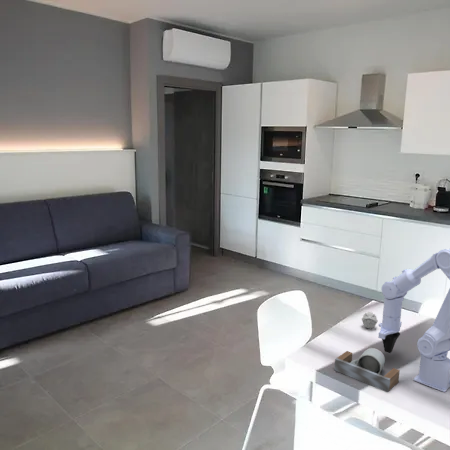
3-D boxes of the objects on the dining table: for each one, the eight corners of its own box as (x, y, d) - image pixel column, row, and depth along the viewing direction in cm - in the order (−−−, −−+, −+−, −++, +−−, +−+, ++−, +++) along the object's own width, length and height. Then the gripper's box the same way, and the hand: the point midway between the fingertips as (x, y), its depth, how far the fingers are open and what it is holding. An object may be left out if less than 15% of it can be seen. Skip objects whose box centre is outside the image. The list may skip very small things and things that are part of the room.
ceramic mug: (385, 369, 146) (386, 348, 144) (380, 381, 139) (382, 358, 137) (352, 361, 151) (354, 340, 149) (346, 372, 144) (347, 350, 142)
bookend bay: (398, 382, 138) (399, 370, 137) (387, 392, 132) (389, 380, 132) (346, 361, 150) (347, 350, 149) (334, 370, 144) (335, 358, 144)
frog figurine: (360, 330, 176) (361, 313, 174) (361, 323, 182) (362, 307, 181) (376, 332, 174) (378, 316, 172) (377, 326, 180) (378, 309, 179)
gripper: (389, 306, 158) (385, 341, 161) (371, 317, 148) (367, 354, 150) (408, 311, 153) (404, 347, 156) (391, 323, 143) (388, 362, 146)
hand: (388, 351), depth 153 cm, fingers closed
